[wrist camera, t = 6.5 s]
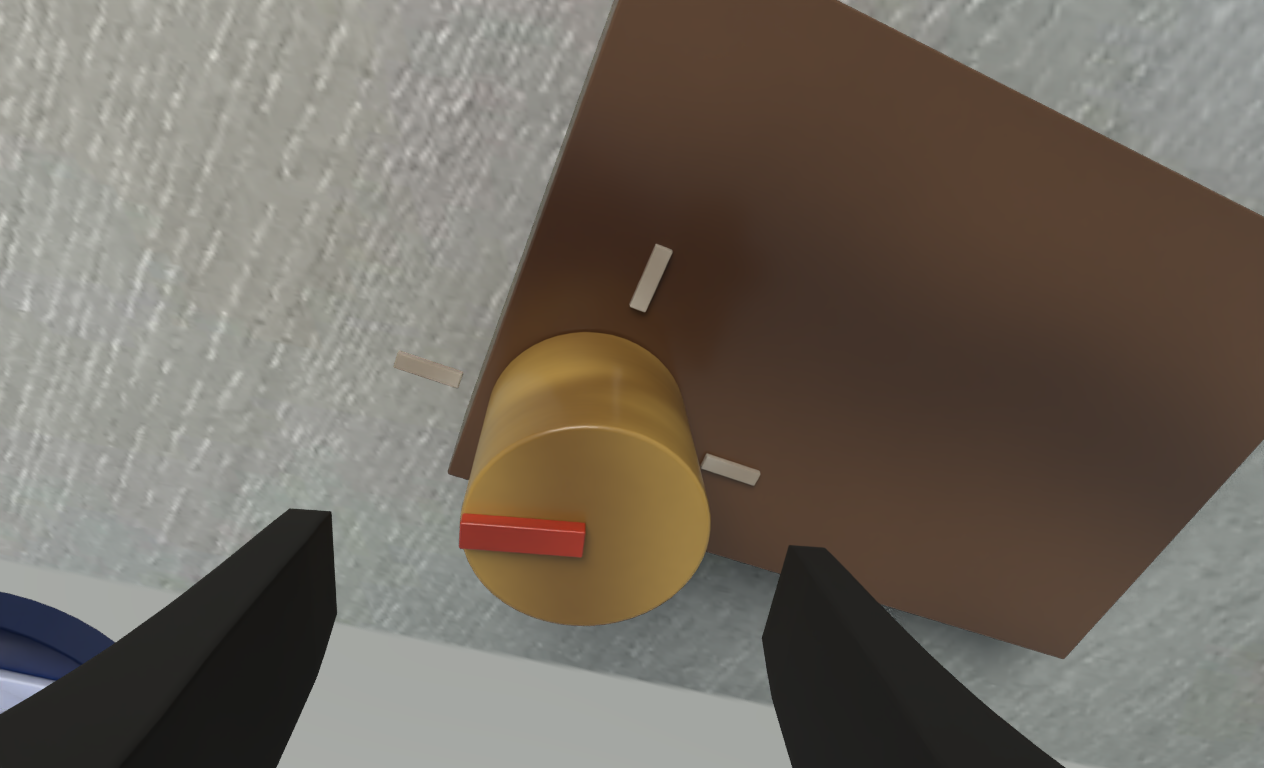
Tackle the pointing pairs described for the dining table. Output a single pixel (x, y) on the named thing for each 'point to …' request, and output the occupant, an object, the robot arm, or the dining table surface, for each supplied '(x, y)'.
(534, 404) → the knob
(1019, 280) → the knob panel
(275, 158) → the dining table surface
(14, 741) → the robot arm
